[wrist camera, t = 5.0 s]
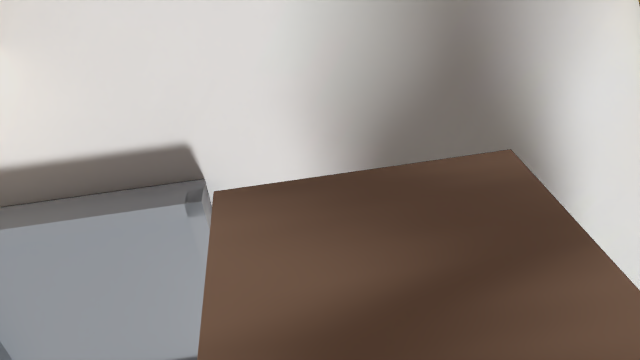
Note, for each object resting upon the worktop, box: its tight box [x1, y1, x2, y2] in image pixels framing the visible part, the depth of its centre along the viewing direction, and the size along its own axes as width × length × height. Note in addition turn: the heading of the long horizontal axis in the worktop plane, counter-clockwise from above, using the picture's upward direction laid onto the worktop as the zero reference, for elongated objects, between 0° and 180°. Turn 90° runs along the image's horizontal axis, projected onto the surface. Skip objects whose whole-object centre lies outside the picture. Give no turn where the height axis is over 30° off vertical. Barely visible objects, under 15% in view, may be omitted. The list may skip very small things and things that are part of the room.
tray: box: [0, 179, 212, 360], centre depth 20 cm, size 10×10×1 cm
